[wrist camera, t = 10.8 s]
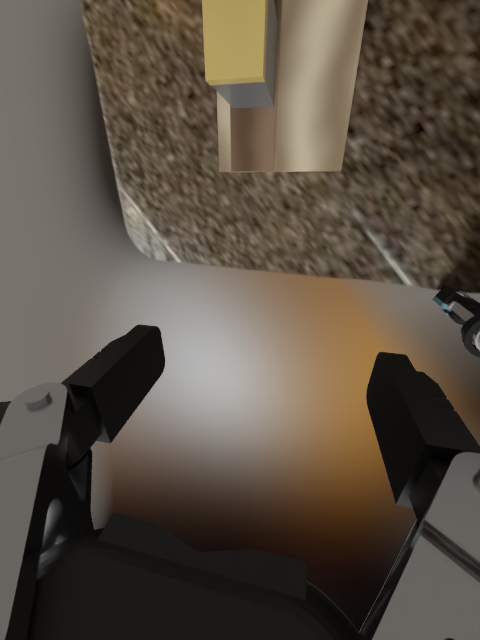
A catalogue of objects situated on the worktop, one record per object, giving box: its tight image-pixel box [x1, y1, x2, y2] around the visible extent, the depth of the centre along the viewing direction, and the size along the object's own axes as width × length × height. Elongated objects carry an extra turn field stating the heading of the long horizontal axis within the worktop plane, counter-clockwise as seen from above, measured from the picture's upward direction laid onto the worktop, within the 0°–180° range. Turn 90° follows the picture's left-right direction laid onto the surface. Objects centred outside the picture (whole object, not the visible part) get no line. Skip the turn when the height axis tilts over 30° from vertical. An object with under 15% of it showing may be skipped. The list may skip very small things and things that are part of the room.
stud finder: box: [202, 0, 278, 108], centre depth 22 cm, size 4×6×9 cm
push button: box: [433, 286, 480, 357], centre depth 29 cm, size 7×5×10 cm
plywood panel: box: [217, 0, 368, 172], centre depth 26 cm, size 14×18×1 cm
